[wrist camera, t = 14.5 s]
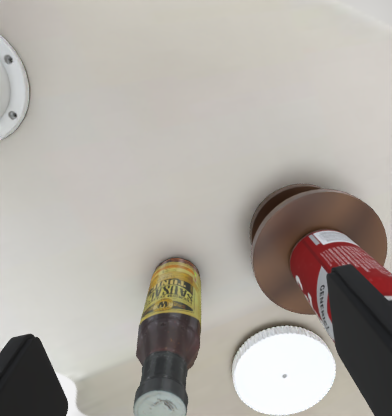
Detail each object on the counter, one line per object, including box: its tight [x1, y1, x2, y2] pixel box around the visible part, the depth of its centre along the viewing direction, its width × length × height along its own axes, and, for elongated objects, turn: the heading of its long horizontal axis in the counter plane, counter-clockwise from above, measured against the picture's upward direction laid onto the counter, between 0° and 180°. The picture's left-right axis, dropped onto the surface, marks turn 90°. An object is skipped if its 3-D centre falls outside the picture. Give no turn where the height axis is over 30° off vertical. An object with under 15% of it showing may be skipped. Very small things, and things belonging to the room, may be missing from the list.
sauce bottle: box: [134, 258, 201, 416], centre depth 35 cm, size 7×6×20 cm
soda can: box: [290, 229, 392, 343], centre depth 29 cm, size 7×7×12 cm
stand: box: [250, 184, 387, 315], centre depth 39 cm, size 14×14×8 cm
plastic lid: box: [232, 325, 336, 416], centre depth 47 cm, size 14×14×2 cm
